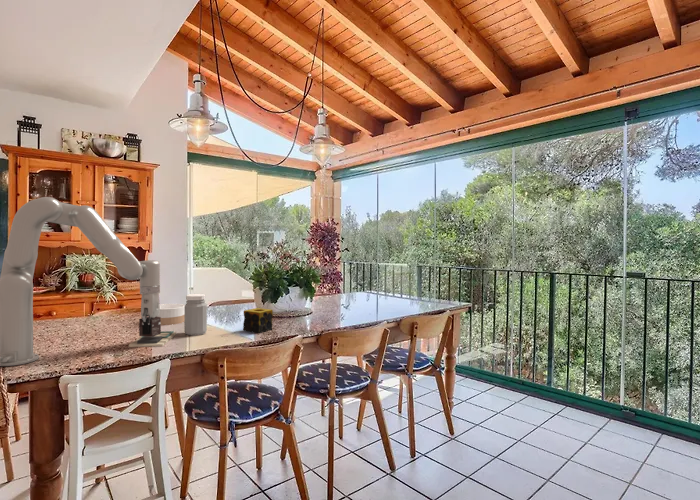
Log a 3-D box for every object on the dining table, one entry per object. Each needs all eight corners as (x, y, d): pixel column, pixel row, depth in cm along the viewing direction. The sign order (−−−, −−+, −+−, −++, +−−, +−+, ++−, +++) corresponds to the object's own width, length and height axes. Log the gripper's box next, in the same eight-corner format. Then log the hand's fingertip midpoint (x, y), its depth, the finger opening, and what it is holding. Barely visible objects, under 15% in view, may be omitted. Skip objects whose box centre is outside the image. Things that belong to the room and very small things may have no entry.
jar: (197, 330, 199) (197, 292, 199) (211, 332, 194) (211, 294, 194) (179, 334, 191) (179, 295, 190) (193, 336, 186) (193, 296, 185)
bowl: (192, 321, 221) (192, 305, 221) (162, 326, 206) (162, 310, 206) (172, 317, 230) (171, 302, 230) (142, 322, 215) (142, 306, 215)
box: (151, 337, 170) (151, 319, 170) (138, 336, 172) (138, 318, 171) (161, 333, 176) (161, 316, 176) (148, 333, 178) (148, 316, 177)
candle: (242, 331, 199) (242, 310, 199) (256, 327, 208) (256, 307, 208) (259, 333, 194) (259, 312, 194) (272, 329, 203) (273, 309, 203)
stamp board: (162, 346, 170) (162, 341, 170) (128, 347, 168) (128, 342, 168) (176, 333, 191) (176, 329, 191) (146, 334, 189) (146, 330, 189)
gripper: (152, 292, 165) (153, 336, 166) (165, 287, 183) (165, 327, 183) (132, 292, 164) (133, 337, 165) (147, 287, 181) (147, 327, 182)
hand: (150, 331), depth 174 cm, fingers closed on box, 7 cm apart
